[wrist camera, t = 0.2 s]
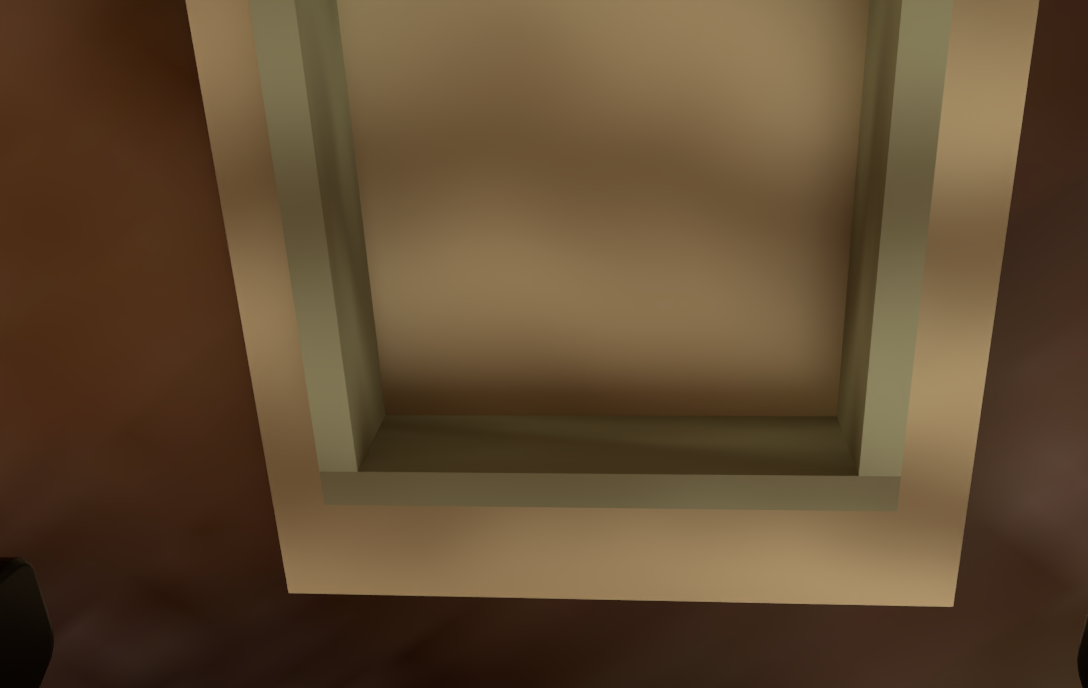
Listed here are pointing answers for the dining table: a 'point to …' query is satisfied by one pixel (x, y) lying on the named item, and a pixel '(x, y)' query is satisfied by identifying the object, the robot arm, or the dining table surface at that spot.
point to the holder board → (618, 287)
